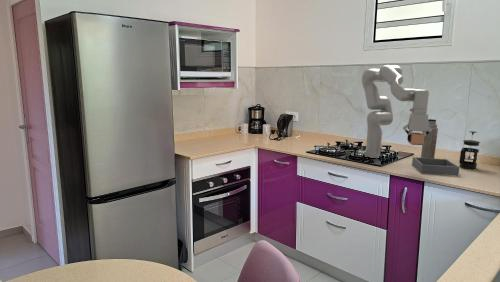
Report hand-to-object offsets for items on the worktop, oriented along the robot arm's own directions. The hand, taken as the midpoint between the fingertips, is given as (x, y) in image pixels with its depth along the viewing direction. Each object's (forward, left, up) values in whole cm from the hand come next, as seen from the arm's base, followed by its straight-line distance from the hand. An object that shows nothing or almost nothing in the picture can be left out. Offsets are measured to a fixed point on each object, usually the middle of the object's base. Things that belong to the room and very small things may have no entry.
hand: (415, 141), depth 207 cm
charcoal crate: (+14, +6, -18) cm, 23 cm away
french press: (+37, +18, -18) cm, 45 cm away
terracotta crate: (0, 0, -1) cm, 1 cm away
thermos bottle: (+17, +30, -18) cm, 39 cm away
